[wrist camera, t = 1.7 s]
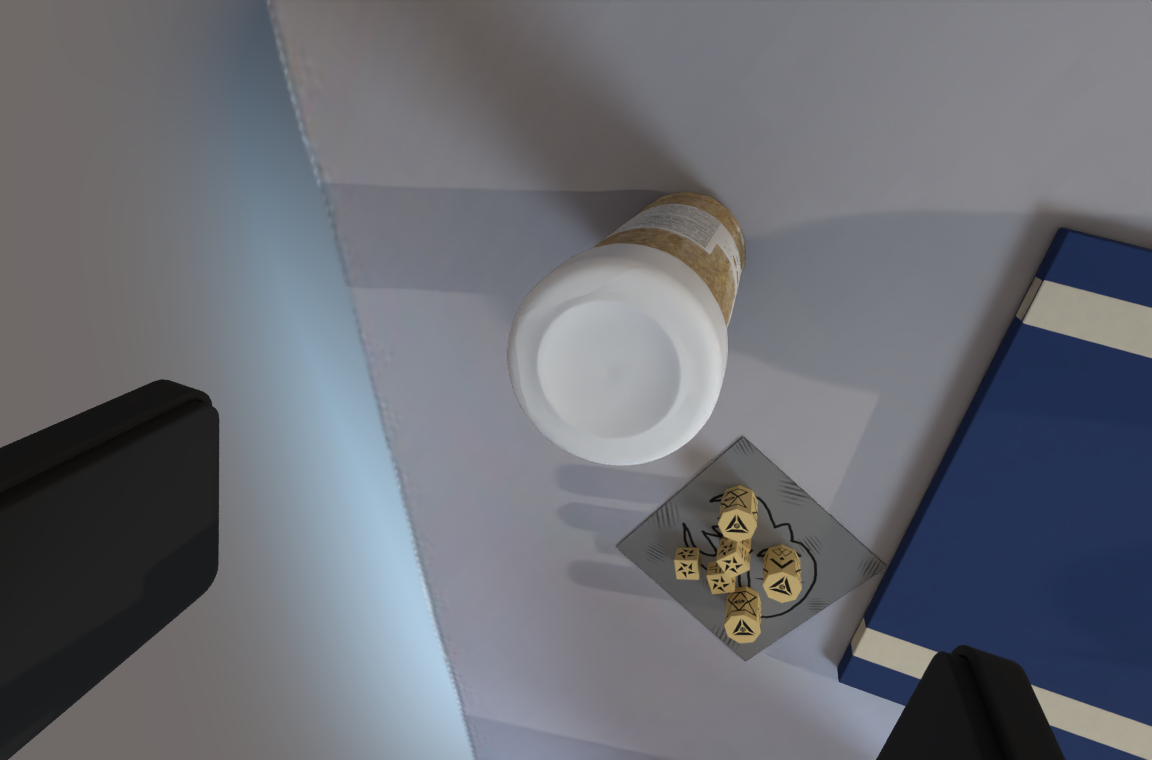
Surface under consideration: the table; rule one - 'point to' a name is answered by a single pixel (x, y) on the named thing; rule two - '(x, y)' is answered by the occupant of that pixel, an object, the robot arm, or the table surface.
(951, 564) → the towel
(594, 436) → the sprinkles bottle
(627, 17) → the table surface
